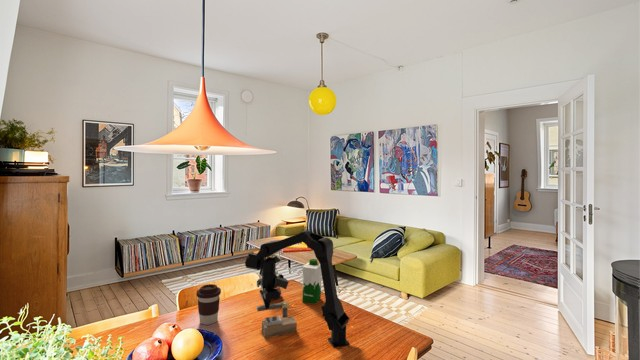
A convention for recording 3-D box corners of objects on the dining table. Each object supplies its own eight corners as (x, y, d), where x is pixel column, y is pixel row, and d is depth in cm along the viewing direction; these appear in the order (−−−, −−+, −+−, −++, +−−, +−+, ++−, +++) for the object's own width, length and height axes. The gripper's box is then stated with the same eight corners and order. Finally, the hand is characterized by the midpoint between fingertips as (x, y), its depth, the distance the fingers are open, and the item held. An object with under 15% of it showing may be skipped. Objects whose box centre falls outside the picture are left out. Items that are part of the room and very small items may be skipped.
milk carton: (322, 298, 166) (323, 259, 165) (316, 305, 157) (316, 264, 156) (306, 296, 169) (307, 258, 168) (299, 302, 160) (300, 262, 159)
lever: (288, 304, 143) (288, 300, 143) (290, 307, 140) (290, 304, 140) (256, 308, 138) (256, 305, 138) (258, 312, 135) (258, 308, 135)
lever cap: (281, 324, 130) (281, 319, 130) (266, 326, 128) (266, 321, 128) (279, 319, 134) (279, 314, 134) (264, 321, 132) (264, 316, 132)
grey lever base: (296, 332, 131) (297, 317, 131) (264, 338, 127) (264, 322, 127) (288, 319, 143) (289, 305, 143) (258, 323, 138) (258, 309, 138)
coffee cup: (195, 328, 134) (195, 292, 133) (197, 317, 143) (197, 283, 143) (220, 325, 137) (220, 290, 136) (220, 314, 146) (221, 281, 145)
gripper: (293, 276, 131) (292, 315, 131) (281, 264, 148) (280, 298, 148) (266, 279, 127) (264, 318, 127) (257, 266, 144) (255, 301, 144)
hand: (267, 308), depth 137 cm, fingers closed
